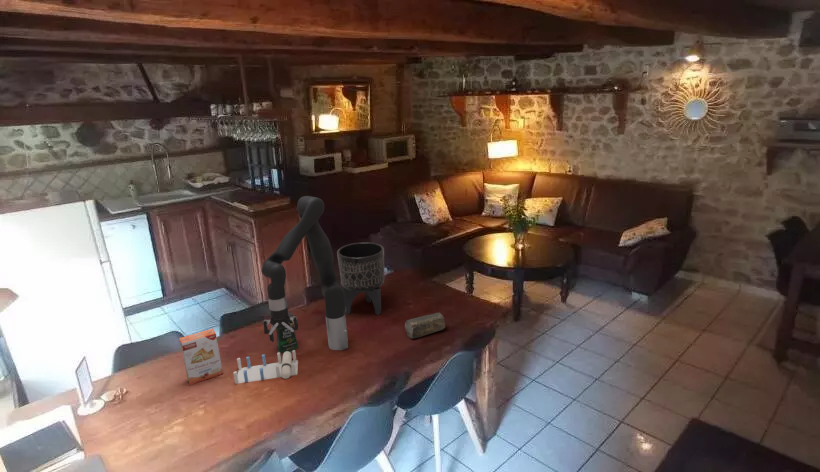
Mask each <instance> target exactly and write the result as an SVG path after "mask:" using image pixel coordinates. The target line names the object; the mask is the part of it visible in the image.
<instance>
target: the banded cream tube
mask: <svg viewBox="0 0 820 472" xmlns="http://www.w3.org/2000/svg"><path fill="white" fill-rule="evenodd" d="M292 359H293V353H292V351H290V352H289V351H286V352H284V353H282V358H281V362H282V368H281V377H280V378H282V379H285V380H286V379H287V380H288V379H289V378H290V377H291V376H292V375H291V361H293V360H292ZM290 375H291V376H290Z"/></svg>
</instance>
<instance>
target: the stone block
mask: <svg viewBox="0 0 820 472" xmlns="http://www.w3.org/2000/svg"><path fill="white" fill-rule="evenodd" d="M445 328H446V322H445V317H444V315H443V314H442V313H441V312H434V313H431V314H426V315H423V316H418V317H415V318H410V319H407V320H406V321H405V323H404V329H405V332H406V334H407V337H408V338H409V339H412V340H414V339H418V338H422V337H424V336H427V335H431V334H434V333H436V332H440V331H443V330H445Z"/></svg>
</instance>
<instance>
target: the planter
mask: <svg viewBox="0 0 820 472" xmlns="http://www.w3.org/2000/svg"><path fill="white" fill-rule="evenodd" d="M336 254H337V255H336V256H337V262H338V263H337V264H338V269H339V275H340V276H339V277H340V284H341V287H342V289H343V290H344V294H345V315H350V314H351V311H352V309H351V308H352V303H353V301H354V299H355V298H356V297H357V296H358V295H359V294H361V293H365V294H364V295H365V300H366V303H371V302H372V304H373V307H374V314H375V315H376V314H377V315H376V316H379V315H381V314H382V293H381V291H382V290H381V287H382V286H383V284H384V282H385V248H384V246H383V245H381V244H379V243H376V242H368V241H367V242H366V241H365V242H364V241H362V242H354V243H350V244H349V243H348V244H346V245H343V246H341V247H340V248H339V249H338V250H337V251H336ZM371 300H372V301H371Z"/></svg>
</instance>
